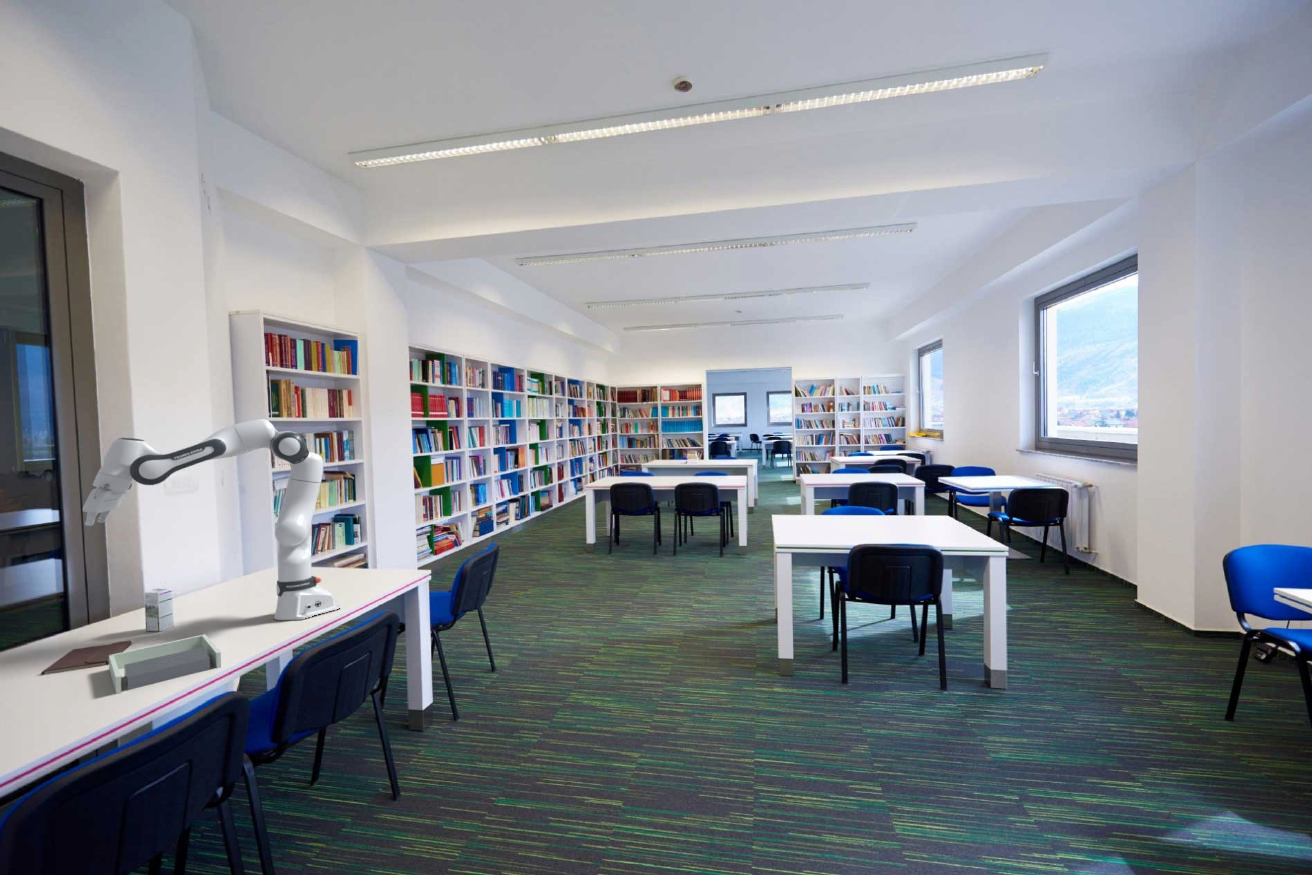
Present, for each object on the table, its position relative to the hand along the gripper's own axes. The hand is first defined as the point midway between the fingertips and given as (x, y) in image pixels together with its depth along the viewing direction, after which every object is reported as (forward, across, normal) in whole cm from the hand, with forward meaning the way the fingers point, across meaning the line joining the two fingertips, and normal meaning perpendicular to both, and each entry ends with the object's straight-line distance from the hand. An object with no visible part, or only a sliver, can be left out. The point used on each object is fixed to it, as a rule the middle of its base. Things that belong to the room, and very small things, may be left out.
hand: (94, 523), depth 187 cm
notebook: (+40, -8, -15) cm, 44 cm away
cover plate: (+32, -36, -39) cm, 62 cm away
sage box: (+32, -31, -37) cm, 58 cm away
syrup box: (+35, +16, -25) cm, 46 cm away
